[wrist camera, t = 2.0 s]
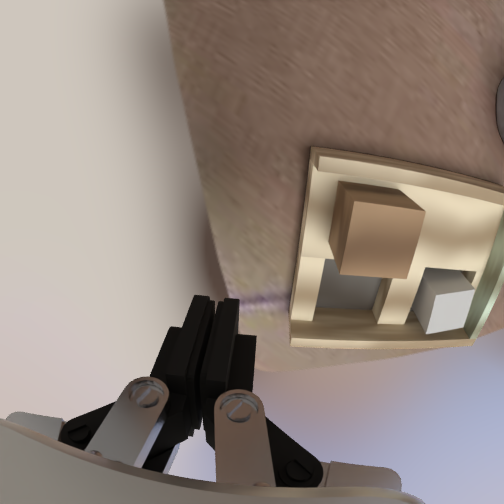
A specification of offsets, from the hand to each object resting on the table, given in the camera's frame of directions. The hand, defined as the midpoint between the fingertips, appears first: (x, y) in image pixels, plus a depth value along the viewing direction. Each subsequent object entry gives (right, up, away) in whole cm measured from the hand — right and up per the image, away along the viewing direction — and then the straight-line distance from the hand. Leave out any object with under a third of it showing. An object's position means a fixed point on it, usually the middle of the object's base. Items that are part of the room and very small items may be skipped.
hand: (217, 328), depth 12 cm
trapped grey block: (+20, -1, +16) cm, 26 cm away
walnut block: (+10, +6, +11) cm, 16 cm away
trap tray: (+15, +3, +15) cm, 22 cm away
